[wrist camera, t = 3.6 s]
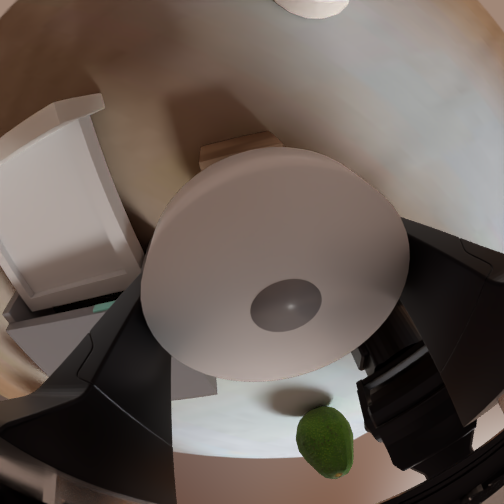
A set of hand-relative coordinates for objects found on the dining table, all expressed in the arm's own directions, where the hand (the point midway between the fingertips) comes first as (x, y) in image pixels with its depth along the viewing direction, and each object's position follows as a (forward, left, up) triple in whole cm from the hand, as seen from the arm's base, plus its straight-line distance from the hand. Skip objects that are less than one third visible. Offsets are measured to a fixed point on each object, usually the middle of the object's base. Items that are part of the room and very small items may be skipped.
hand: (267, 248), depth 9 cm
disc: (0, 0, +1) cm, 1 cm away
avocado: (-3, +36, -9) cm, 37 cm away
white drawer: (+13, -1, -8) cm, 16 cm away
